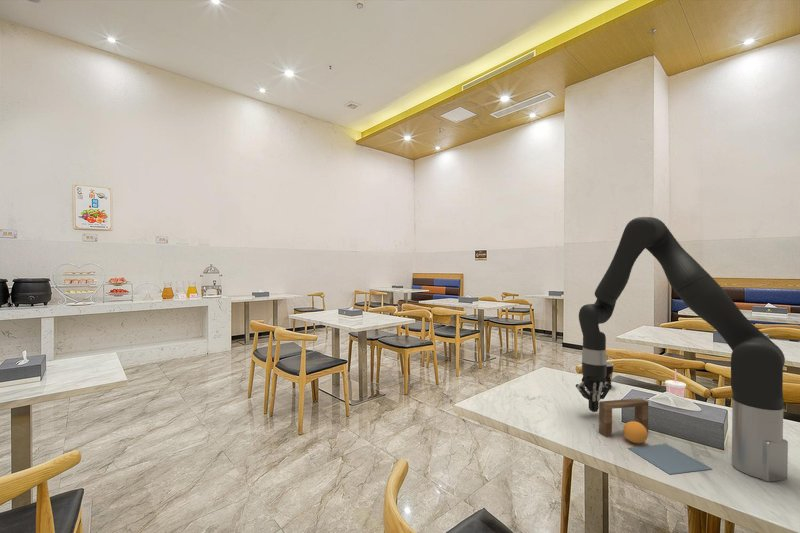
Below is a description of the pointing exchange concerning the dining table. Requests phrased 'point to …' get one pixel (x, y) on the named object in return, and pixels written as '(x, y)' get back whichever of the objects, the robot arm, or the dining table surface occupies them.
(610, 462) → the dining table surface
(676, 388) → the beverage cup
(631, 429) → the ball
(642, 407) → the bridge
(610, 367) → the coffee mug
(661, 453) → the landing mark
